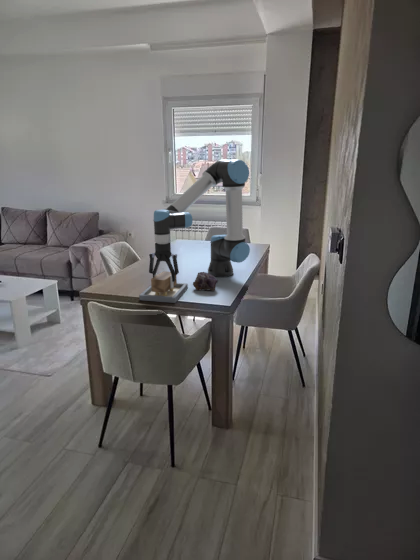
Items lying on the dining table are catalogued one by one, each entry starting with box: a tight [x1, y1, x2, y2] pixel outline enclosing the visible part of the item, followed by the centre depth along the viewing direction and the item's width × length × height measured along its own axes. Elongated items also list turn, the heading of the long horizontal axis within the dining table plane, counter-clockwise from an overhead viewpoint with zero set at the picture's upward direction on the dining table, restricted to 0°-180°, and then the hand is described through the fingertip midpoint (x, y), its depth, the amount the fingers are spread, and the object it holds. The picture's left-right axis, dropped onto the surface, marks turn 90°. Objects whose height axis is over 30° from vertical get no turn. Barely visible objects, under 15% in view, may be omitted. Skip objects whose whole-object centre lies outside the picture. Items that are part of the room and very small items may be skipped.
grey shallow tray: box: [139, 282, 189, 304], centre depth 191 cm, size 18×22×3 cm
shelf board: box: [150, 270, 178, 293], centre depth 190 cm, size 7×14×6 cm, turn 160°
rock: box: [192, 271, 219, 292], centre depth 198 cm, size 12×9×10 cm
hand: (164, 286), depth 191 cm, fingers closed on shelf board, 7 cm apart
